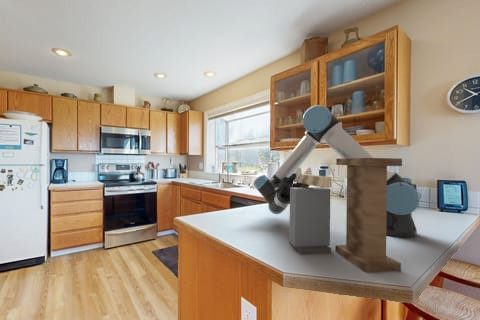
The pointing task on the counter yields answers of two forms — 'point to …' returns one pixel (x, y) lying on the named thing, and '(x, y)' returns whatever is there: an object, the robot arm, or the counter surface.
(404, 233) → the robot arm
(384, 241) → the stand
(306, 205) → the grey rectangular block
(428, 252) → the counter surface
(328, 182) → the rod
